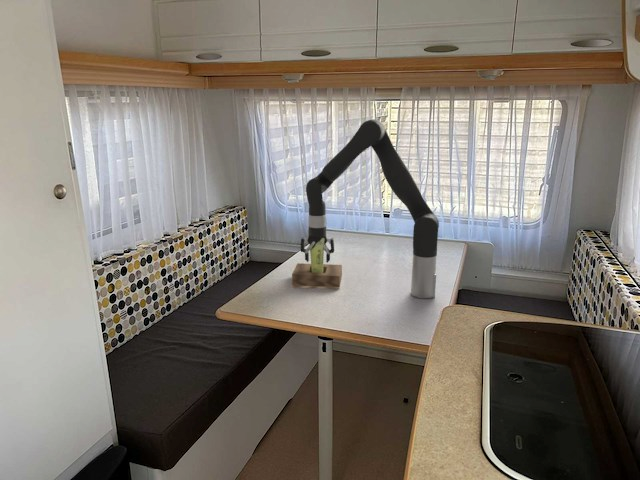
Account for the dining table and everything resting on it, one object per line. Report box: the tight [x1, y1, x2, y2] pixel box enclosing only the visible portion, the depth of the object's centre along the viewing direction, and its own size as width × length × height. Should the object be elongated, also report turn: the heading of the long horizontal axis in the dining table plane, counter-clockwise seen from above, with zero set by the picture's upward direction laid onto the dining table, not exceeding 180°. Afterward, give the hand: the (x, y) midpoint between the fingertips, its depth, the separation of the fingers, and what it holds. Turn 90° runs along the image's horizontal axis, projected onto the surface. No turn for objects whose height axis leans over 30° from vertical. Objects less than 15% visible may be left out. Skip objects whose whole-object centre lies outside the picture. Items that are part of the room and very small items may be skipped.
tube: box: [309, 238, 325, 273], centre depth 205 cm, size 6×5×20 cm
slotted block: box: [291, 262, 343, 290], centre depth 207 cm, size 20×14×6 cm
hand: (317, 261), depth 205 cm, fingers open, 8 cm apart
